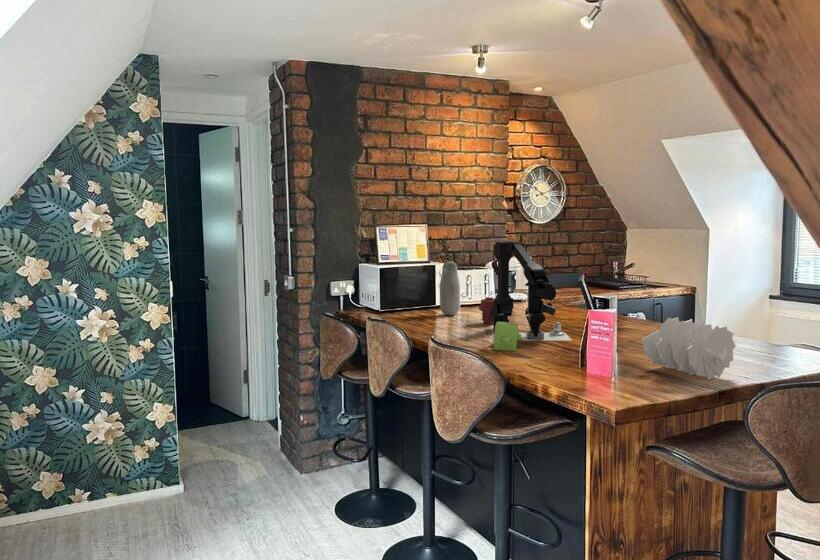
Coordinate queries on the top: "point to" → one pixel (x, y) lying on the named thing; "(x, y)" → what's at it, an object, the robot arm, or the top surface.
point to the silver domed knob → (557, 330)
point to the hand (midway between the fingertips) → (534, 335)
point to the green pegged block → (506, 336)
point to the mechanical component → (487, 310)
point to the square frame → (531, 336)
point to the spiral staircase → (690, 347)
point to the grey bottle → (449, 289)
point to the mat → (550, 337)
